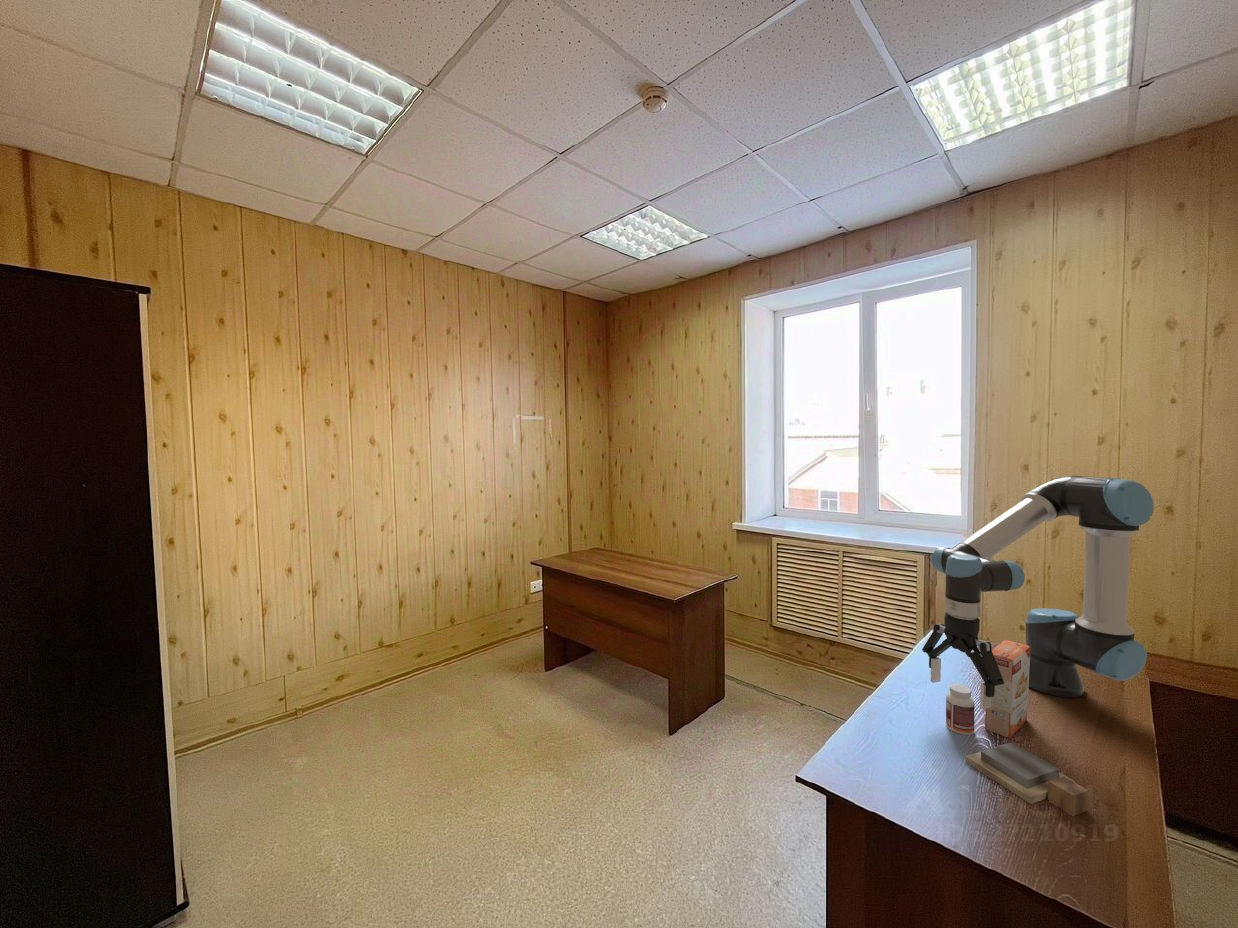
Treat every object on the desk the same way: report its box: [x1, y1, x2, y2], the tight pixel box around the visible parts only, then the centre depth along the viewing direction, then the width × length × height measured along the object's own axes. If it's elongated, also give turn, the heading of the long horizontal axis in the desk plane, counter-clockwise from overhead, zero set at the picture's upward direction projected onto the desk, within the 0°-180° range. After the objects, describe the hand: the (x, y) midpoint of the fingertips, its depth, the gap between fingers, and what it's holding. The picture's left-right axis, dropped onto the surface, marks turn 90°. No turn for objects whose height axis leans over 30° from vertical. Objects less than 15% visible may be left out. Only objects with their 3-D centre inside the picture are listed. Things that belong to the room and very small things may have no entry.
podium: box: [965, 742, 1077, 805], centre depth 111 cm, size 14×14×4 cm
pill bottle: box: [945, 683, 976, 736], centre depth 129 cm, size 6×6×11 cm
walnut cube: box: [1047, 776, 1089, 817], centre depth 102 cm, size 4×4×4 cm
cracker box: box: [984, 639, 1031, 740], centre depth 129 cm, size 14×6×21 cm, turn 126°
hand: (959, 693), depth 128 cm, fingers open, 13 cm apart
